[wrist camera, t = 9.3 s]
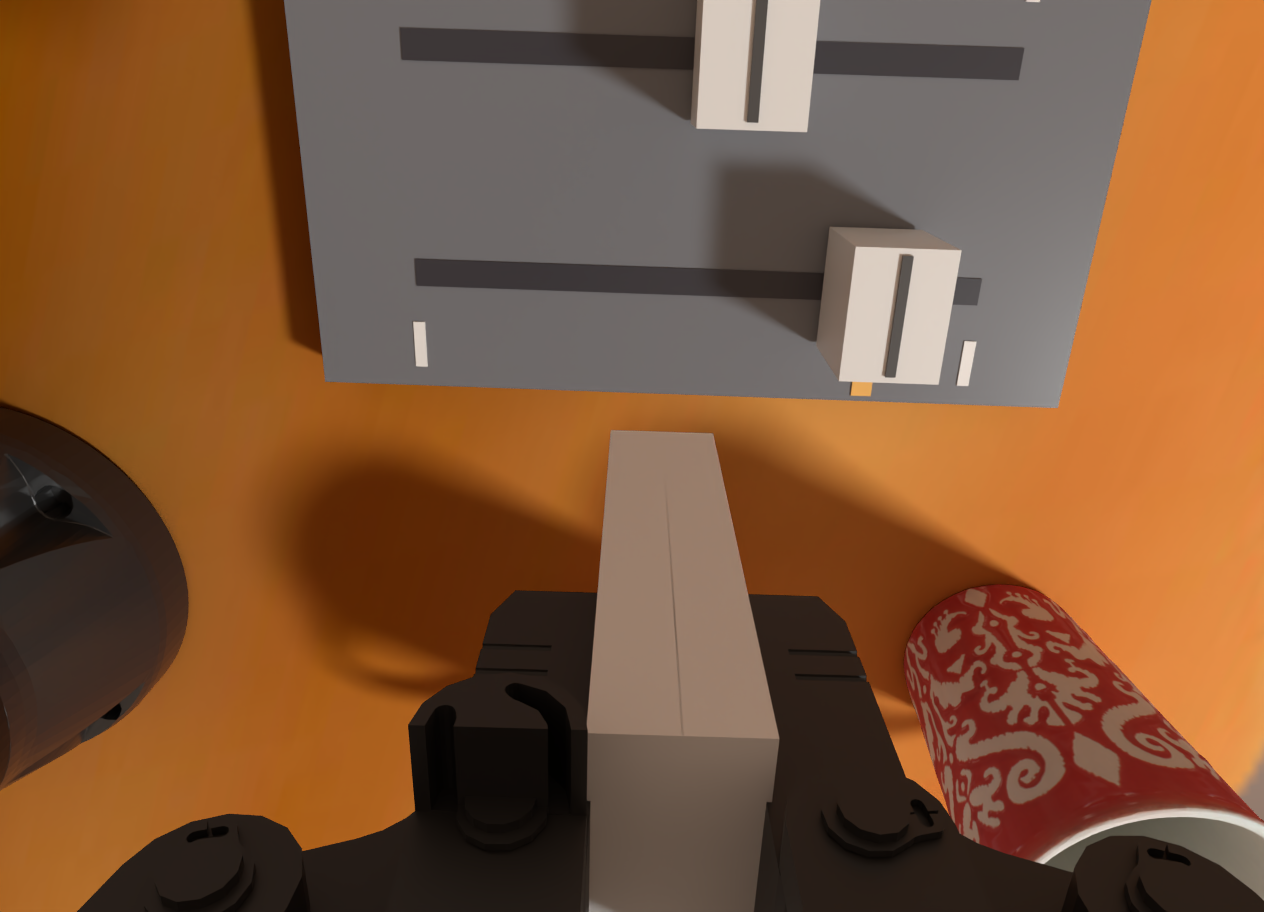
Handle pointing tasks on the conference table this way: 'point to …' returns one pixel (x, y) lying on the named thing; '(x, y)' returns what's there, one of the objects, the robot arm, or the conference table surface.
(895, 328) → the block
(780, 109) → the fader
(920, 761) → the conference table surface
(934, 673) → the mug
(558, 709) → the robot arm
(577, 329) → the console
